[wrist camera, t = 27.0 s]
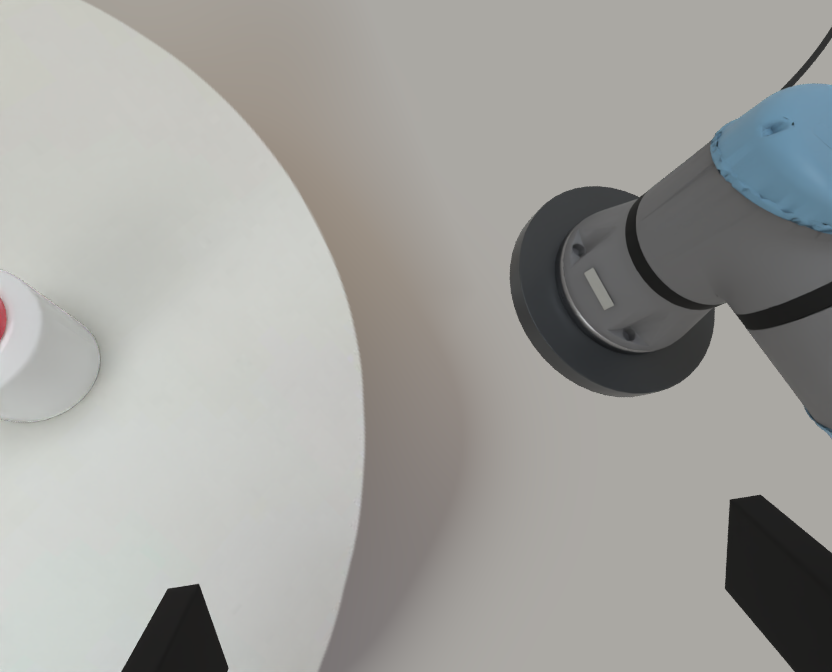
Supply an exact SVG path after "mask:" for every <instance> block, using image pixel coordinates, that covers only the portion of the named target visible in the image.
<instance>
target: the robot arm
mask: <svg viewBox="0 0 832 672" xmlns="http://www.w3.org/2000/svg"><path fill="white" fill-rule="evenodd" d="M831 38H832V28H831V29H830V30H829V32H828V34H827V35H826V37H825V38H824V39H823V41H822V42H821V44H820V45H819V47H818V48H817V49H816V50H815V52H814V53H813V54H812V56H811V57H810V58H809V59H808V61H807V62H806V63H805V64H804V65H803V66H802V68H801V69H800V70H799V71H798V72H797V73H796V74H795V75H794V76H793V78H792V79H791V80H790V81H789V82H788V83H787V84H786V85H785V86H784V87H783V88H782V89H781V90H780V91H778V92H776V93H774V94H772V95H771V96H769V97H767V98H766V99H764V100H763V101H762V102H760V103H759V104H758V105H756V106H755V107H753V108H752V109H751V110H749V111H748V112H747V113H745V114H744V115H743V116H741V117H740V118H738V119H736V120H733V121H731V122H729V123H727V124H726V125H725V126H723V127H722V128H721V129H720V130H719V131H718V132H717V133H716V134H715V136H714V138H713V139H712V140H711V141H710V142H709V143H708V144H707V145H705V146H704V147H703V148H701V149H700V150H699V151H698V152H696V153H695V154H694V155H693V156H691V157H690V158H689V159H688V160H686V161H685V162H684V163H683V164H681V165H680V166H679V167H677V168H676V169H675V170H674V171H672V172H671V173H670V174H668V175H667V176H666V177H665V178H663V179H662V180H661V181H660V182H658V183H657V184H656V185H654V186H653V187H652V188H651V189H650V190H648V191H647V192H646V193H645V194H644V195H642V196H641V197H640V198H638V199H636V200H632V201H629V202H626V203H623V204H620V205H617V206H614V207H611V208H608V209H605V210H602V211H599V212H597V213H594V214H592V215H591V216H589V217H587V218H585V219H584V220H582V221H581V222H580V223H579V224H578V225H576V226H575V227H574V228H573V229H572V230H571V231H570V232H569V233H568V234H567V235H566V237H565V238H564V239H563V241H562V243H561V245H560V247H559V250H558V253H557V257H556V263H555V278H556V284H557V289H558V292H559V295H560V298H561V301H562V303H563V305H564V307H565V309H566V311H567V313H568V314H569V316H570V317H571V319H572V320H573V321H574V323H575V324H576V325H577V326H578V327H579V328H580V330H581V331H582V332H584V333H585V334H586V335H587V336H588V337H589V338H591V339H592V340H593V341H595V342H596V343H598V344H599V345H601V346H603V347H605V348H607V349H609V350H612V351H615V352H618V353H622V354H628V355H641V354H647V353H651V352H654V351H657V350H660V349H662V348H665V347H667V346H669V345H671V344H673V343H674V342H676V341H677V340H679V339H680V338H681V337H682V336H684V335H685V334H686V333H687V332H688V331H689V330H690V329H691V328H692V327H693V326H694V325H695V324H696V323H697V322H698V321H699V320H701V319H702V318H703V317H704V316H705V315H706V314H707V313H708V312H709V311H710V310H711V309H712V308H714V307H717V306H719V305H722V304H724V303H728V305H729V306H730V307H731V308H732V310H733V311H734V313H735V314H736V315H737V316H738V317H739V319H740V320H741V322H742V323H743V324H744V325H745V327H746V329H747V330H748V331H749V333H750V334H751V335H752V337H753V338H754V339H755V341H756V342H757V343H758V345H759V346H760V347H761V349H762V350H763V351H764V353H765V354H766V355H767V357H768V358H769V359H770V361H771V362H772V363H773V365H774V366H775V367H776V369H777V370H778V371H779V373H780V374H781V375H782V377H783V378H784V379H785V381H786V382H787V383H788V384H789V386H790V387H791V389H792V390H793V391H794V393H795V394H796V396H797V397H798V398H799V399H800V401H801V402H802V404H803V405H804V407H805V410H806V412H807V413H808V415H809V417H810V418H811V419H812V420H813V421H815V423H816V425H817V426H819V427H820V428H821V429H822V430H824V431H825V432H827V434H828V435H829V436H830V437H831V438H832V85H827V84H802V85H797V86H793V85H794V84H795V83H796V82H797V81H798V80H799V79H800V77H801V76H802V75H803V74H804V73H805V72H806V71H807V70H808V68H809V67H810V66H811V65H812V64H813V62H814V61H815V60H816V59H817V57H818V56H819V55H820V54H821V52H822V51H823V50H824V48H825V47H826V45H827V44H828V43H829V41H830V40H831ZM729 510H730V511H729V526H728V544H727V563H726V580H725V589H726V590H727V592H728V593H729V594H730V595H731V596H732V597H733V599H734V600H735V601H736V602H737V603H738V605H739V606H740V607H741V608H742V609H743V610H744V612H745V613H746V614H747V615H748V616H749V618H750V619H751V620H752V621H753V623H754V624H755V625H756V626H757V627H758V628H759V630H760V631H761V632H762V633H763V634H764V635H765V637H766V638H767V639H768V640H769V642H770V643H771V644H772V645H773V646H774V647H775V648H776V650H777V651H778V652H779V653H780V655H781V656H782V657H783V658H784V659H785V660H786V662H787V663H788V664H789V665H790V667H791V668H792V669H793V670H794V671H795V672H832V553H831V552H830V551H828V550H827V549H826V548H825V547H824V546H822V545H821V544H820V543H819V542H817V541H816V540H815V539H814V538H813V537H811V536H810V535H809V534H808V533H806V532H805V531H804V530H803V529H802V528H800V527H799V526H798V525H797V524H796V523H794V522H793V521H792V520H791V519H790V518H788V517H787V516H786V515H785V514H783V513H782V512H781V511H780V510H779V509H777V508H776V507H775V506H774V505H772V504H771V503H770V502H769V501H767V500H766V499H765V498H764V497H763V496H761V495H757V496H750V497H744V498H738V499H731V500H730V508H729ZM227 671H228V665H227V662H226V659H225V657H224V654H223V651H222V648H221V645H220V642H219V640H218V637H217V634H216V631H215V628H214V625H213V622H212V620H211V617H210V614H209V611H208V608H207V605H206V602H205V600H204V597H203V594H202V591H201V588H200V585H199V584H195V585H189V586H183V587H177V588H170V589H167V591H166V593H165V595H164V597H163V598H162V600H161V602H160V604H159V606H158V607H157V609H156V611H155V613H154V614H153V616H152V618H151V620H150V622H149V623H148V625H147V627H146V629H145V631H144V632H143V634H142V636H141V638H140V640H139V641H138V643H137V645H136V647H135V648H134V650H133V652H132V654H131V656H130V657H129V659H128V661H127V663H126V665H125V666H124V668H123V670H122V672H227Z"/></svg>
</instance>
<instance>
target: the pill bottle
mask: <svg viewBox="0 0 832 672" xmlns="http://www.w3.org/2000/svg"><path fill="white" fill-rule="evenodd" d="M99 367H100V352H99V347H98V345H97V342H96V339H95V338H94V336H93V335H92V333H91V332H90V331H89V330H88V329H87V328H86V327H85V326H84V325H83V324H82V323H81V322H79V321H78V320H77V319H75V318H74V317H73V316H71V315H70V314H68V313H67V312H66V311H64V310H63V309H61V308H60V307H59V306H57V305H56V304H55V303H53V302H52V301H50V300H49V299H48V298H46V297H45V296H44V295H42V294H41V293H39V292H38V291H37V290H35V289H34V288H33V287H31V286H30V285H28V284H27V283H26V282H24V281H23V280H21V279H20V278H18V277H16V276H15V275H13V274H11V273H10V272H8V271H5V270H2V269H0V419H1V420H6V421H14V422H36V421H41V420H46V419H49V418H52V417H55V416H57V415H60V414H62V413H64V412H65V411H67V410H69V409H71V408H72V407H73V406H75V405H76V404H77V403H78V402H79V401H81V400H82V399H83V398H84V396H85V395H86V394H87V393H88V392H89V391H90V389H91V387H92V386H93V384H94V382H95V380H96V378H97V375H98V372H99Z"/></svg>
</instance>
